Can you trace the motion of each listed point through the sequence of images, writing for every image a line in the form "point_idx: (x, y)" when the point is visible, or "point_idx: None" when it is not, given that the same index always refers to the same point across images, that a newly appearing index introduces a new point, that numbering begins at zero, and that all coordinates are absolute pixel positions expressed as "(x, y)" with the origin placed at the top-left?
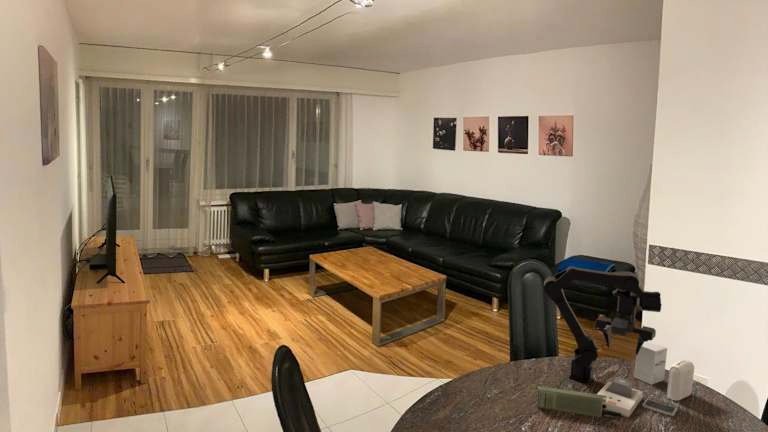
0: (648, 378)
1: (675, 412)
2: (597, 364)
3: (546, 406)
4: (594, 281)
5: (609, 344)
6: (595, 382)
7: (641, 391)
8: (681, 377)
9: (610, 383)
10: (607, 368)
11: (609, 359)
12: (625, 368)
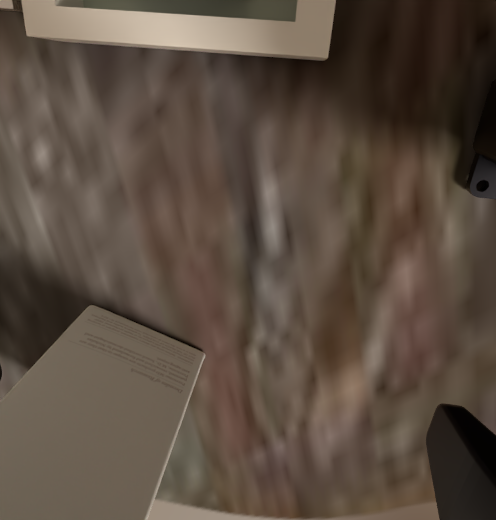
0: (100, 331)
1: None
2: None
3: None
4: None
5: (463, 471)
6: (432, 109)
7: (34, 27)
8: None
9: (302, 11)
10: (369, 389)
11: (371, 497)
12: (271, 434)
